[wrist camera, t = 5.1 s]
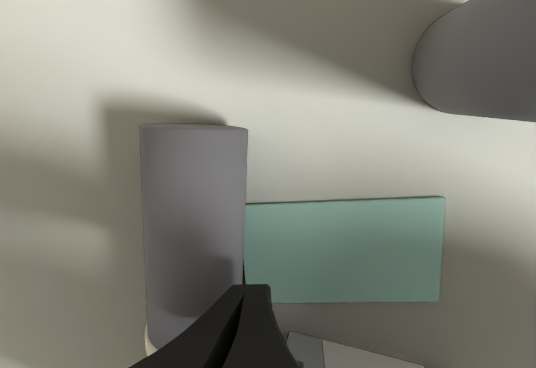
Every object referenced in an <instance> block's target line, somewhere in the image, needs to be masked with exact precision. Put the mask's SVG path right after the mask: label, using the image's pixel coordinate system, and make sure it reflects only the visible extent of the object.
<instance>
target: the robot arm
mask: <svg viewBox="0 0 536 368" xmlns="http://www.w3.org/2000/svg"><path fill="white" fill-rule="evenodd" d="M129 368H301V367H300V366H299V365H298V363H297V362H296V360H295V358H294V357H293V355H292V354H291V352H290V350H289V348H288V346H287V345H286V343H285V341H284V339H283V337H282V334H281V332H280V330H279V327H278V325H277V322H276V320H275V317H274V313H273V310H272V301H271V287H270V286H269V285H268V284H237V285H232V286H231V287H230V288H229V289H228V290H227V291H226V292H225V293H224V294H223V295H222V296H221V297H220V298H219V299H218V300H217V301H216V302H215V303H214V304H213V305H212V306H211V307H210V308H209V309H208V310H207V311H206V312H205V313H204V314H203V315H202V316H201V317H199V318H198V319H197V320H196V321H195V322H194V323H193V324H191V325H190V326H189V327H188V328H187V329H186V330H185V331H183V332H182V333H181V334H180V335H178V336H177V337H176V338H174V339H173V340H172V341H170V342H169V343H167V344H166V345H164V346H163V347H162V348H160V349H159V350H157V351H156V352H154V353H152V354H151V355H149V356H147V357H146V358H144V359H142V360H141V361H139V362H138V363H136V364H134V365H133V366H131V367H129Z"/></svg>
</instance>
